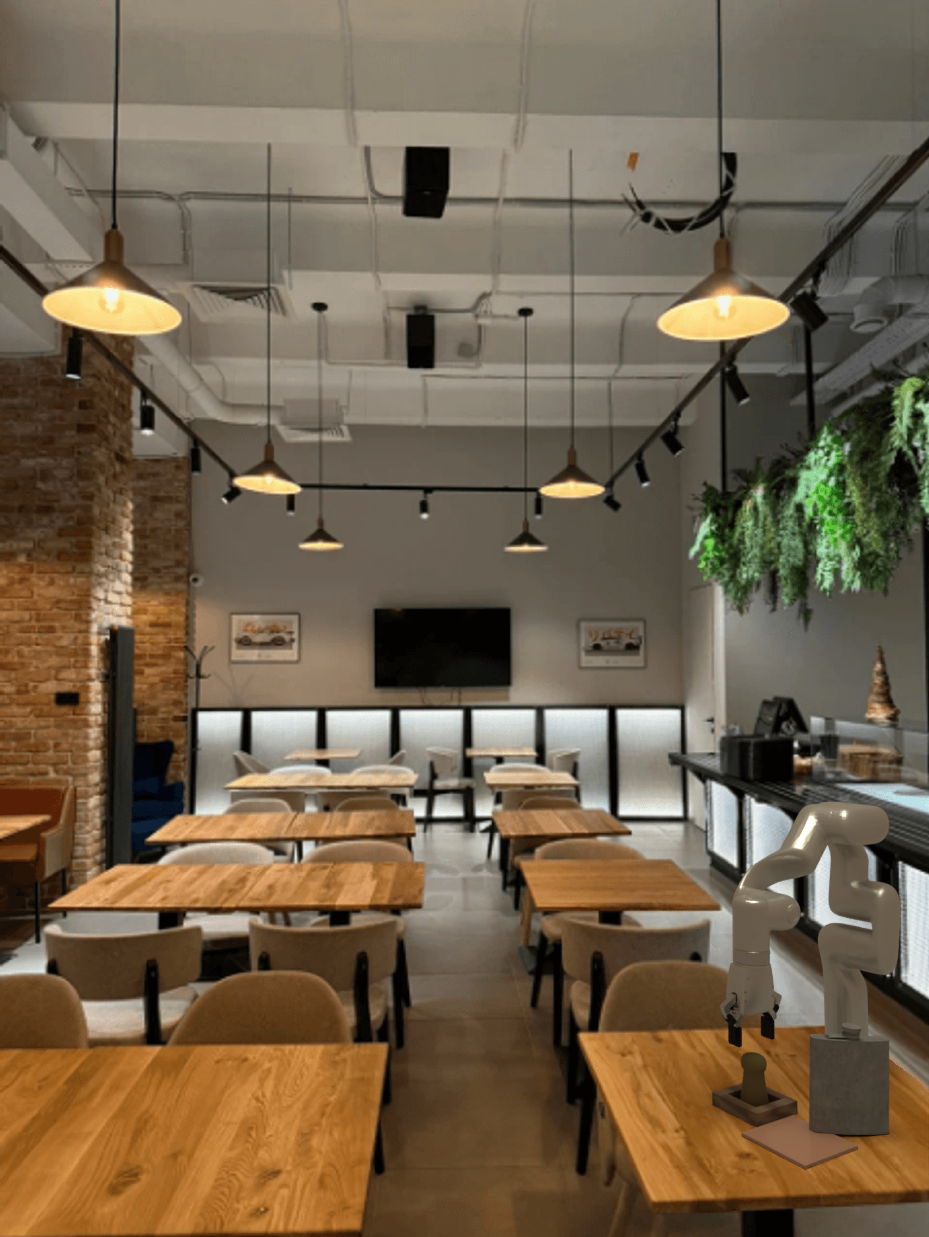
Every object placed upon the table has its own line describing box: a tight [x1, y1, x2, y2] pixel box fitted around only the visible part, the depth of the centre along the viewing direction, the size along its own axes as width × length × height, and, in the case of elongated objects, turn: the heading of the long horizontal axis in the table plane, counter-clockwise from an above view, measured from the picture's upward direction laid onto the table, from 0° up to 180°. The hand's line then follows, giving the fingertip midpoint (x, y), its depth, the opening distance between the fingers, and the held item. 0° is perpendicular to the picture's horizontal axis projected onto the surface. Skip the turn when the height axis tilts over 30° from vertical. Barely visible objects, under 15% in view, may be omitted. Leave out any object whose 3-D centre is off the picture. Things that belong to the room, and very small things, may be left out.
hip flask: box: [808, 1023, 890, 1136], centre depth 185 cm, size 16×4×20 cm, turn 94°
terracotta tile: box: [741, 1115, 859, 1170], centre depth 180 cm, size 15×15×1 cm
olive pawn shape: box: [740, 1051, 769, 1107], centre depth 195 cm, size 6×6×11 cm
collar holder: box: [711, 1082, 799, 1128], centre depth 195 cm, size 12×12×2 cm
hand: (751, 1041), depth 195 cm, fingers open, 9 cm apart
